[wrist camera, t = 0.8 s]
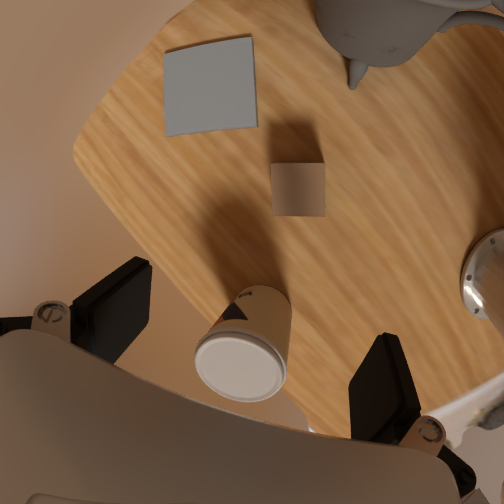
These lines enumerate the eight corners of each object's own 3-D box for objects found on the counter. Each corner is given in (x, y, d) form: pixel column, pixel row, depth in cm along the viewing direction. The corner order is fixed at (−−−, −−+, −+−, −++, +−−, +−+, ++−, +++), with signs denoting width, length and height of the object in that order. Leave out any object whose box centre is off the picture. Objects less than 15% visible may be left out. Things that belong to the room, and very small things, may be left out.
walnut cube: (324, 161, 30) (324, 163, 25) (324, 207, 31) (325, 216, 27) (278, 161, 31) (270, 163, 26) (279, 206, 32) (272, 215, 28)
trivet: (253, 39, 26) (251, 36, 26) (258, 127, 30) (256, 126, 29) (166, 55, 29) (163, 54, 28) (169, 136, 32) (165, 136, 32)
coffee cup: (252, 263, 35) (219, 315, 24) (313, 307, 36) (305, 372, 24) (215, 313, 39) (177, 369, 28) (270, 351, 39) (250, 415, 28)
